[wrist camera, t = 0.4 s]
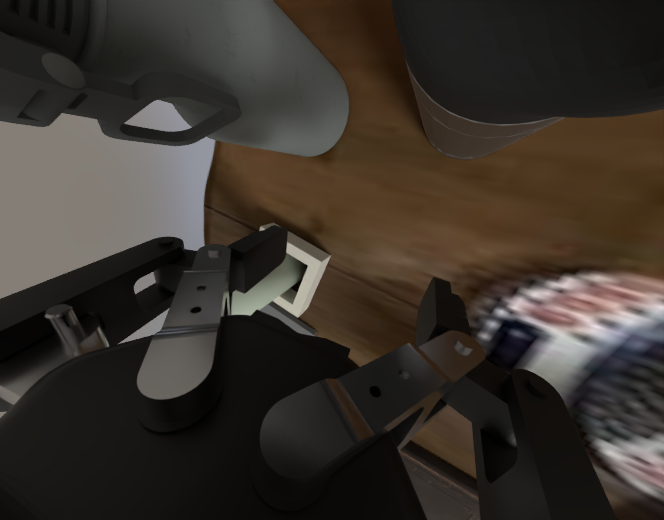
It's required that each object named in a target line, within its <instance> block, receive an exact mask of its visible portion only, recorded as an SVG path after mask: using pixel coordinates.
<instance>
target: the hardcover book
mask: <svg viewBox="0 0 664 520" xmlns="http://www.w3.org/2000/svg"><path fill="white" fill-rule="evenodd" d="M399 453H400V455H401V458H402V460H403V462H404V465H405V467H406V470H407V472H408V474H409V477H410V479H411V481H412V484H413V486H414V489H415V491H416V493H417V496H418V498H419V501H420V503H421V505H422V508H423V510H424V513H425V515H426V517H427V520H480V509H479V497H478V486H477V482H476V481H475V480H473V479H471V478H469V477H468V476H466V475H464V474H463V473H461V472H459V471H458V470H456V469H454V468H453V467H451V466H449V465H448V464H446V463H444V462H442V461H441V460H439V459H437V458H436V457H434V456H432V455H431V454H429V453H427V452H426V451H424V450H422V449H420V448H419V447H417V446H415V445H414V444H412V443H410V442H408V443H407V444H406V445H405V446H404V447H403V448H401V449H400V450H399Z"/></svg>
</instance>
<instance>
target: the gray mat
mask: <svg viewBox="0 0 664 520" xmlns="http://www.w3.org/2000/svg"><path fill="white" fill-rule="evenodd" d="M259 311H262V312H264V313H267V314H269V315H271V316H274V317H276V318H278V319H280V320H281V321H282V322H284V323H285V324H286V325H288V326H289V327H291V328H292V329H293V330H295V331H296V332H298V333H301V334H306V335H311V336H315V335H316V333H317V331H315V330H314V329H312V328H311V327H309V326H308V325H306V324H305V323H303V322H302V321H300V320H299V319H297V318H296V317H294V316H293V315H291V314H290V313H288V312H287V311H285V310H284V309H282V308H281V307H279V306H278V305H276V304H275V303H273V302H272V301H271V302H270V303H269V304H267V305H266V306H265V307H263V308H262V309H260V310H259Z"/></svg>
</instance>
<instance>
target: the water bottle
mask: <svg viewBox="0 0 664 520" xmlns="http://www.w3.org/2000/svg"><path fill="white" fill-rule="evenodd" d="M155 100H161V101H165V102H168V103H172V104H173V105H174V107H175V109H176V110H177V111H178V113H179V114H180V115H181V116H182V118H183V119H184V120H185V121H186V122H187V123H188V124H189V125H190V126H191V127H192V128H190V129H188V130H184V131H177V132H166V131H159V130H154V129H148V128H142V127H137V126H131V125H127V124H124V123H125V122H126V121H127V120H129V119H130V118H131V117H133V116H134V115H135V114H136V113H138V112H139V111H141V110H142V109H143V108H145V107H146V106H147V105H149V104H150V103H151V102H153V101H155ZM61 113H66V114H71V115H77V116H83V117H88V118H94V119H97V120H98V123H99V125H100V127H101V129H102V132H103V133H104V134H105V135H107V136H109V137H112V138H116V139H122V140H129V141H137V142H145V143H153V144H161V145H169V146H181V145H189V144H192V143H195V142H197V141H199V140H200V139H202V138H204V137H206V136H207V137H208V138H211V139H214V140H218V141H222V142H226V143H232V144H238V145H243V146H249V147H255V148H260V149H266V150H272V151H277V152H283V153H289V154H294V155H300V156H305V157H310V156H317V155H320V154H322V153H324V152H326V151H328V150H329V149H330V148H332V147H333V146H334V145H335V143H336V142H337V141H338V140H339V138H340V137H341V135H342V133H343V131H344V129H345V126H346V123H347V119H348V114H349V98H348V92H347V89H346V86H345V83H344V81H343V79H342V77H341V75H340V74H339V72H338V71H337V70H336V69H335V68H334V67H333V65H332V64H331V63H330V62H329V61H328V60H327V59H326V58H325V57H324V56H323V55H322V53H321V52H320V51H319V50H318V49H317V48H316V47H315V46H314V45H313V44H312V43H311V42H310V40H309V39H308V38H307V37H306V36H305V35H304V34H303V33H302V32H301V31H300V30H299V28H298V27H297V26H296V25H295V24H294V23H293V22H292V21H291V20H290V19H289V18H288V17H287V15H286V14H285V13H284V12H283V11H282V10H281V9H280V8H279V7H278V6H277V5H276V3H275V2H274V1H273V0H0V121H4V122H10V123H16V124H24V125H31V126H38V127H46V126H49V125H50V124H51V123H52V122H53V121H54V120H55V119H56V118H57V117H58V116H59V115H60V114H61Z"/></svg>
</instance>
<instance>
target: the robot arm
mask: <svg viewBox="0 0 664 520" xmlns="http://www.w3.org/2000/svg"><path fill="white" fill-rule="evenodd" d="M392 6H393V13H394V18H395V23H396V27H397V32H398V35H399V39H400V43H401V46H402V50H403V53H404V57H405V61H406V65H407V68H408V72H409V76H410V79H411V83H412V86H413V89H414V93H415V97H416V101H417V104H418V108H419V112H420V116H421V120H422V123H423V127H424V130H425V133H426V136H427V138H428V140H429V141H430V143H431V145H432V146H433V147H434V148H435V149H437V150H438V151H439V152H440V153H442V154H444V155H446V156H448V157H452V158H455V159H466V160H468V159H475V158H480V157H483V156H486V155H489V154H491V153H493V152H495V151H497V150H500V149H502V148H504V147H506V146H508V145H510V144H512V143H514V142H516V141H518V140H520V139H523V138H525V137H527V136H529V135H531V134H533V133H535V132H537V131H539V130H541V129H543V128H545V127H547V126H549V125H551V124H553V123H555V122H557V121H559V120H561V119H563V118H565V117H575V118H594V117H614V116H625V115H632V114H639V113H645V112H651V111H656V110H661V109H664V0H392ZM287 238H288V231H287V229H285V228H282V227H279V226H276V225H272V226H271V227H269V228H267V229H265V230H262V231H257V232H254V233H252V234H250V235H248V236H246V237H244V238H243V239H240V240H238V241H236V242H234V243H232V244H230V245H228V246H224V245H219V244H212V245H206V246H203V247H201V248H200V249H199V250H198V251H193V250H186V249H184V244H183V241H182V240H181V239H179V238H176V237H160V238H155V239H152V240H150V241H147V242H145V243H142V244H140V245H137V246H135V247H132V248H129V249H127V250H124V251H122V252H119V253H117V254H114V255H112V256H109V257H106V258H104V259H101V260H99V261H96V262H94V263H91V264H88V265H86V266H83V267H81V268H78V269H76V270H73V271H71V272H68V273H66V274H63V275H60V276H58V277H55V278H53V279H50V280H47V281H45V282H42V283H40V284H37V285H35V286H32V287H30V288H27V289H25V290H22V291H19V292H17V293H14V294H12V295H9V296H7V297H4V298H1V299H0V412H5V411H7V412H6V413H5V414H4V415H3V416H2V417H1V418H0V520H427V517H426V515H425V513H424V510H423V508H422V505H421V503H420V501H419V498H418V496H417V493H416V491H415V489H414V486H413V484H412V481H411V479H410V477H409V474H408V472H407V470H406V467H405V465H404V462H403V460H402V458H401V455H400V453H399V450H400V449H401V448H403V447H404V446H405V445H406V444H407V443H408V442H409V441H410V440H411V439H412V437H413V436H414V435H415V434H416V433H417V432H418V431H419V430H420V429H422V428H423V427H424V426H425V425H426V424H428V423H429V422H430V421H431V420H432V419H434V418H435V417H436V416H437V415H439V414H440V413H441V412H442V411H443V410H445V409H446V408H447V407H448V406H451V407H452V408H453V409H455V410H456V411H457V412H459V413H460V414H461V415H463V416H464V417H465V418H467V419H468V420H469V421H471V422H472V429H473V441H474V452H475V463H476V475H477V486H478V497H479V509H480V520H617V518H616V516H615V514H614V512H613V509H612V507H611V505H610V503H609V501H608V498H607V496H606V494H605V492H604V490H603V487H602V485H601V483H600V481H599V479H598V476H597V474H596V472H595V470H594V468H593V465H592V463H591V461H590V459H589V456H588V454H587V452H586V450H585V448H584V445H583V443H582V441H581V439H580V437H579V434H578V432H577V430H576V428H575V426H574V423H573V421H572V419H571V417H570V415H569V412H568V410H567V408H566V406H565V404H564V401H563V399H562V397H561V396H560V394H559V393H558V392H557V391H556V389H555V388H554V387H553V386H552V385H550V384H549V383H548V382H547V381H546V380H544V379H543V378H541V377H540V376H538V375H537V374H535V373H533V372H530V371H528V370H524V369H516V370H514V371H513V372H512V373H511V374H508V373H506V372H505V371H503V370H501V369H500V368H498V367H496V366H495V365H493V364H492V363H490V362H489V361H487V360H486V359H485V352H484V350H483V348H482V346H481V345H480V344H479V343H478V342H477V341H476V340H475V339H473V338H472V337H471V333H470V328H469V323H468V319H467V314H466V312H465V311H466V309H465V305H464V302H463V301H462V300H461V298H460V297H459V296H458V295H455V294H452V292H451V285H450V282H448V281H445V280H442V279H439V278H436V277H433V278H432V280H431V282H430V284H429V286H428V289H427V291H426V293H425V295H424V297H423V299H422V301H421V304H420V307H419V310H418V320H417V335H416V345H415V344H414V343H408V344H406V345H404V346H402V347H400V348H398V349H396V350H394V351H392V352H390V353H388V354H386V355H384V356H382V357H380V358H378V359H376V360H374V361H372V362H370V363H368V364H366V365H364V366H362V367H359V366H358V365H357V364H356V363H355V362H354V361H352V360H351V359H350V358H349V357H348V355H349V352H350V349H349V348H347V347H345V346H342V345H340V344H338V343H335V342H333V341H331V340H328V339H326V338H321V337H316V336H311V335H306V334H301V333H298V332H296V331H295V330H293V329H292V328H291V327H289V326H288V325H286V324H285V323H284V322H282V321H281V320H280V319H278V318H276V317H274V316H271V315H269V314H267V313H264V312H262V311H259V310H256V311H255V312H254V313H253V314H252V315H251V316H250V315H232V305H233V292H234V291H235V290H236V291H239V292H241V293H244V294H245V293H247V292H248V291H249V290H250V289H251V288H253V287H254V286H255V285H256V284H258V283H259V282H260V281H261V280H262V279H264V278H265V277H266V276H267V275H268V274H270V273H271V272H272V271H273V270H275V269H276V268H277V267H278V266H279V265H281V264H282V263H283V261H284V259H285V257H286V250H287ZM151 272H154V276H155V280H156V283H155V284H153V285H151V286H149V287H148V288H146V289H144V290H142V291H140V292H139V293H137V294H135V293H134V285H135V283H136V281H137V280H138V279H140V278H141V277H143V276H145V275H147V274H149V273H151ZM168 308H170V309H169V311H168V314H167V317H166V319H165V322H164V324H163V327H162V329H161V331H160V332H157V333H156V334H155V335H151V336H148V337H144V338H140V339H136V340H132V341H129V342H125V343H121V344H118V343H120V342H121V341H123V340H124V339H125V338H127V337H128V336H130V335H131V334H132V333H134V332H135V331H137V330H138V329H140V328H141V327H143V326H144V325H145V324H147V323H148V322H150V321H151V320H153V319H154V318H156V317H157V316H158V315H160V314H161V313H163V312H164V311H166V310H167V309H168Z"/></svg>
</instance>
